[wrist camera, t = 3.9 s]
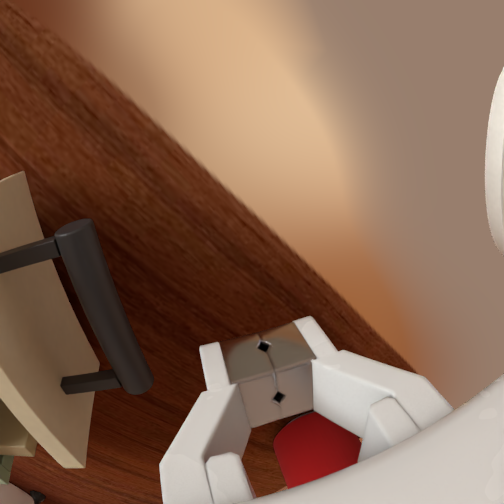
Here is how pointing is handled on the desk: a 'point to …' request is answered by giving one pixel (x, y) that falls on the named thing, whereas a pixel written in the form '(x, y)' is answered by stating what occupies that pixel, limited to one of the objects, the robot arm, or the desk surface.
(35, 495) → the chess pawn
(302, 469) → the beverage can
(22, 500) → the cup
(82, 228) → the drawer
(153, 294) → the desk surface
